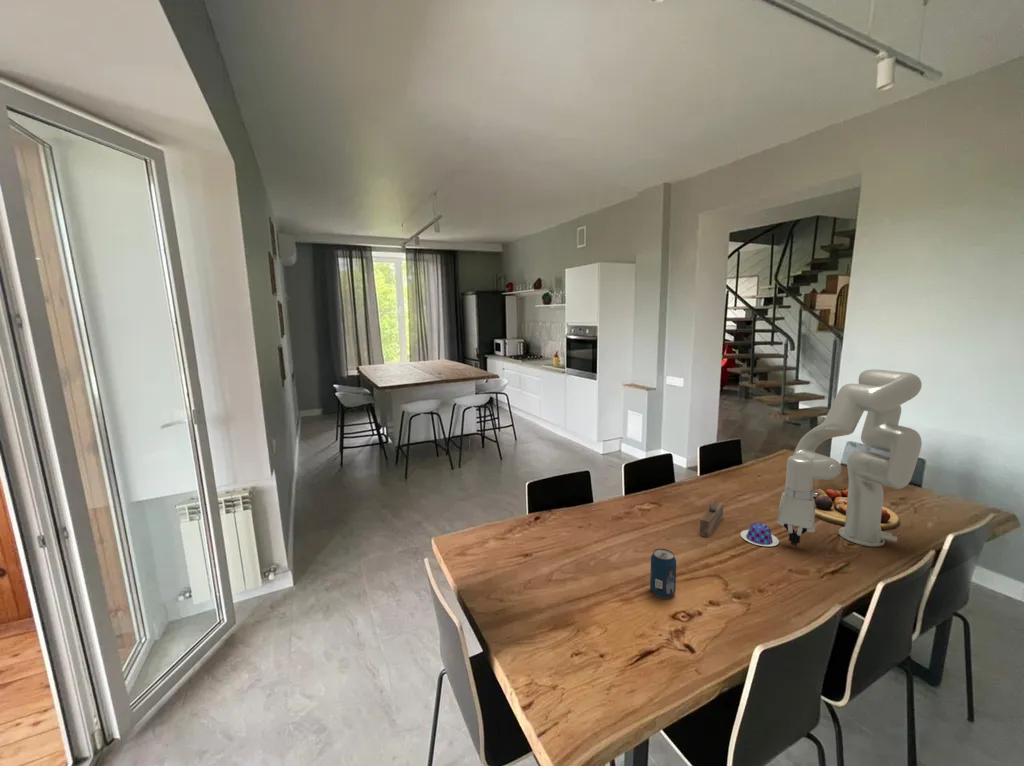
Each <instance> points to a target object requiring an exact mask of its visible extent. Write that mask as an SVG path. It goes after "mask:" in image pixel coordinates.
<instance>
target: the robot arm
mask: <svg viewBox="0 0 1024 766" xmlns="http://www.w3.org/2000/svg"><path fill="white" fill-rule="evenodd" d="M922 384H923V383H922V381H921V378H920V377H919V375H916V374H914V373H911V372H905V371H904V372H903V371H895V370H887V369H886V370H885V369H866V370H863V371H861V373H860V374H859V376H858V383H848V384H844V385H842V386H841V387H840V389H839V390H838V392H837V395H836V397H835V398H834V400H833V402H832V404H831V406H830V408H829V410H828V412H827V415H826V417H825V419H824V420H823V421H822V423H820V424H819V425H817V426H815V427H813V428H812V429H811V430H809V431H807V432H806V433H805V434H804V435H803V436H801V438H800V440H799V441H798V443H797V445H796V447H795V449H794V452H793V455H789V457H788V458H787V461H786V471H785V485H784V486H785V487H784V491H783V492H781V498H780V499H779V500H780V501H779V507H778V514H777V515H778V516H777V521H776V523H777V524H778V525H780V526H782V527H784V528H785V529H786V530H787V531H788V535H789V537H788V541H789V542H790V546H795V547H797V546H798V544H800V542H801V535H803V534H804V533H815V532H816V528H815V523H816V517H815V501H814V498H813V497H817V493H815V492H814V490H813V484H814V480H822V481H823V480H825V481H830V480H834V479H836V478H837V477H839V476H840V474H841V472H842V466H841V464H840V462H839V461H837V460H836V459H834V458H832V457H829V456H827V455H823V454H821V453H818V452H816V450H817V448H818V447H819V445H821V444H822V443H824V442H825V441H827V440H829V439H834V438H837V437H843V436H850V435H852V434H853V433H854V432H855V430H856V428H857V426H858V424H859V422H860V420H861V417H862V416H863V414H864V412H866V413H867V414H866V416H865V420H864V424H863V427H862V430H861V434H860V441H861V443H862V444H863V445H864V446H866V447H869V448H872V449H875V450H879V451H882V452H886V453H889V456H887V455H884V454H880V453H877V452H874V451H869V450H864V449H863V450H861V449H860V450H855V451H853V452H852V453H850V454H849V455H848V457H847V460H846V467H847V474H848V488H847V489H848V498H847V508H846V519H845V526H841V527H840V528H839V529H838V535H840V536H841V537H842V538H843V539H845V540H847V541H849V542H851V543H855V544H857V545H861V546H865V547H874V548H877V547H882V546H884V545H885V542H886V541H889V542H893V543H898V536H896V535H895V536H894V535H893V533H890V532H885V531H884V530H882V529H881V527H880V524H881V514H882V506H883V505H884V504H883V503H884V496H885V495H884V489H883V486H885V487H889V488H891V489H898V490H900V489H903V488H905V487H907V486H908V484H910V482H911V480H912V478H913V475H914V471H915V468H916V466H917V463H918V460H919V456H920V454H921V449H922V445H923V443H922V438H921V435H920V433H919V432H918V431H917V430H915V429H913V428H911V427H907V426H903V425H900V424H899V423H900V418H901V415H902V406H901V405H903V404H905V403H907V402H908V401H909V402H910V401H911V400H913V399H914V398H915V397H916V396H918V395H919V393H920V391H921V389H922ZM795 527H797V530H796V531H795V529H794V528H795Z"/></svg>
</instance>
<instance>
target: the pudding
mask: <svg viewBox="0 0 1024 766" xmlns="http://www.w3.org/2000/svg"><path fill="white" fill-rule="evenodd" d="M740 537H741V539H743V540H745V541H747V542H748V543H750V544H752V545H756V546H761V547H775V546H777V545H779V544H780V540H779V539H778V537H776V535H773V534H772V531H771V529H770V527H769V526H768V525H767V524H764V523H762V522H753V523H751V524H750V526H749V528H748V529H745V530H742V531H740Z"/></svg>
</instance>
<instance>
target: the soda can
mask: <svg viewBox="0 0 1024 766" xmlns="http://www.w3.org/2000/svg"><path fill="white" fill-rule="evenodd" d="M652 552H653V553H652V555H650V556H651V557H650V581H649V582H650V583H649V587H650V590H651V591H652V593H653V594H654V595H655V596H656V597H658V598H661V599H670V598H672V597H673V596H674V594H675V593H676V590H677V589H676V587H677V586H676V585H677V584H676V583H677V559H676V556H675V554H674V552H672V551H671V550H669V549H666V548H656V549H654V550H653V551H652Z"/></svg>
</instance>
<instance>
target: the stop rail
mask: <svg viewBox="0 0 1024 766" xmlns="http://www.w3.org/2000/svg"><path fill="white" fill-rule="evenodd" d="M723 517H724V502H720V501H714V502H713V504H709V505H708V510H707V511H706V512H705V513H704V514H703V516H702V517H701V518H700V521H699V536H703V537H704V538H705V537H706V538H710V536H711V535H712V534H713V532H714V530H715V529H716V528H717V527H718V525H719V523H720V522H721V521H722V519H723Z"/></svg>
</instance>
